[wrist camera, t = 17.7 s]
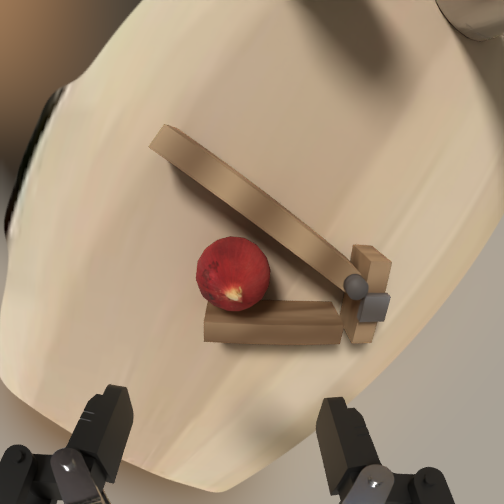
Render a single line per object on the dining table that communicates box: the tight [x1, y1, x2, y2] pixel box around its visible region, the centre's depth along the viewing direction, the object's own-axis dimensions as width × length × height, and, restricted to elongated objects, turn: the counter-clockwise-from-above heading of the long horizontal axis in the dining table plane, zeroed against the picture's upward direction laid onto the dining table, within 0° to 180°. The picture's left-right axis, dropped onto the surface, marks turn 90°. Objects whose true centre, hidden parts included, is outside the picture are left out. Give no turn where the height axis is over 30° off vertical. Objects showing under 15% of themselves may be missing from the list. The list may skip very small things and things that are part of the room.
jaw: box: [149, 124, 369, 300], centre depth 24 cm, size 20×2×5 cm, turn 52°
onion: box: [196, 236, 270, 311], centre depth 24 cm, size 6×6×8 cm
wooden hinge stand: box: [204, 245, 392, 345], centre depth 26 cm, size 8×15×5 cm, turn 86°
